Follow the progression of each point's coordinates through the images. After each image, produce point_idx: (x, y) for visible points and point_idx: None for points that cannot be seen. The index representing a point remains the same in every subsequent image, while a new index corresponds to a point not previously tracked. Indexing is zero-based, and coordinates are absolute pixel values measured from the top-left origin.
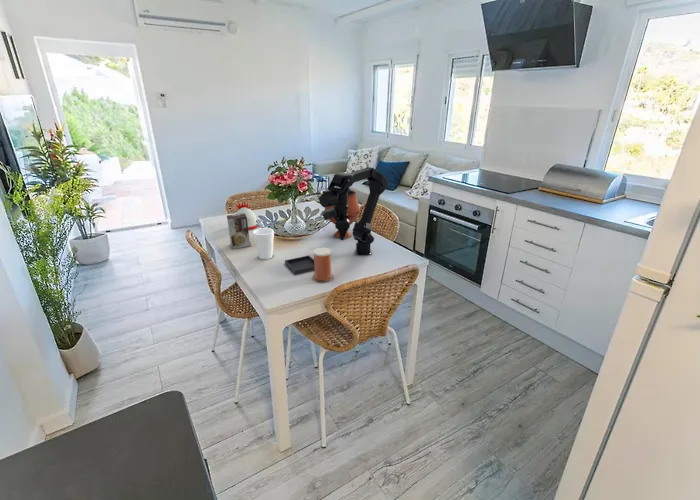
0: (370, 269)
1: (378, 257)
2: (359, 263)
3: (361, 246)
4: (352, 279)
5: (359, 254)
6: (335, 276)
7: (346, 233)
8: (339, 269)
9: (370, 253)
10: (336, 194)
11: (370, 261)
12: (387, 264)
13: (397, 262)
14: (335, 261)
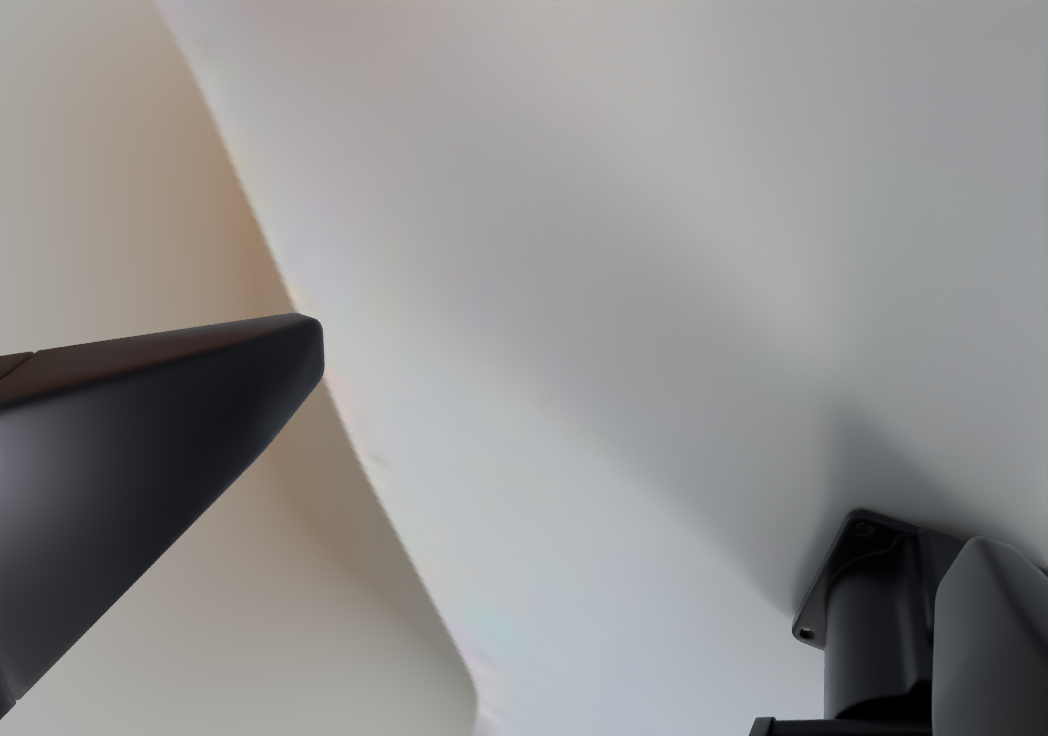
0: (437, 443)
1: (689, 644)
2: (596, 410)
3: (859, 645)
4: (251, 193)
5: (843, 526)
6: (308, 2)
7: None
8: (483, 109)
9: (800, 638)
10: None
11: (615, 532)
12: (513, 615)
13: (534, 693)
14: (765, 115)
